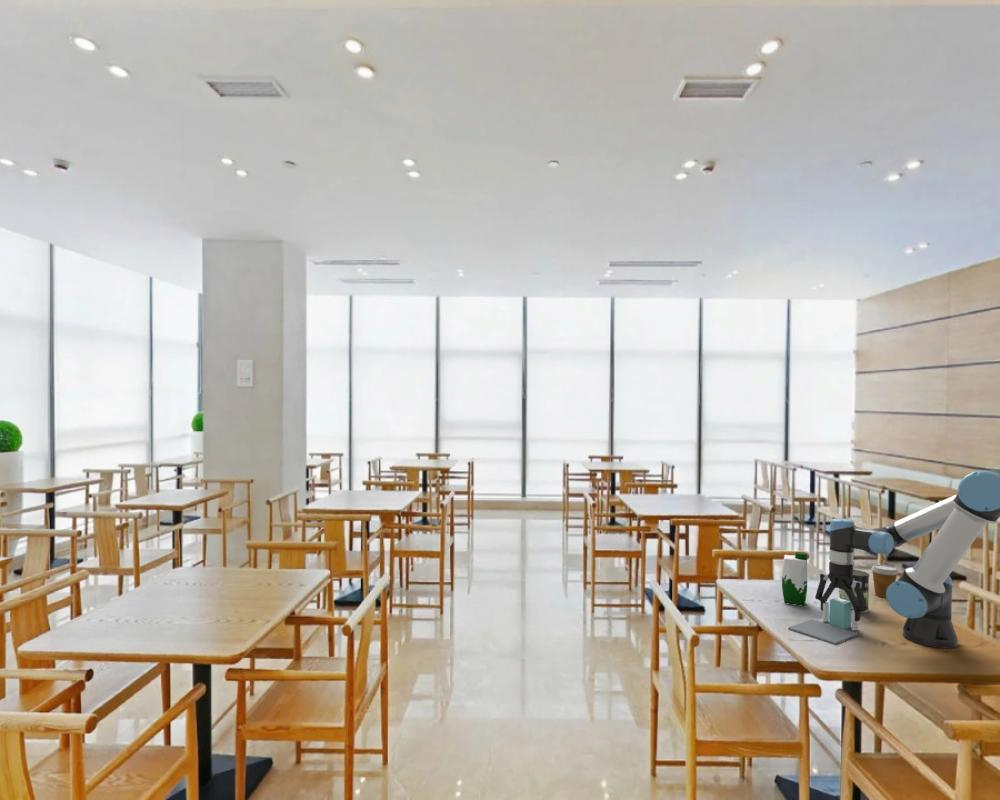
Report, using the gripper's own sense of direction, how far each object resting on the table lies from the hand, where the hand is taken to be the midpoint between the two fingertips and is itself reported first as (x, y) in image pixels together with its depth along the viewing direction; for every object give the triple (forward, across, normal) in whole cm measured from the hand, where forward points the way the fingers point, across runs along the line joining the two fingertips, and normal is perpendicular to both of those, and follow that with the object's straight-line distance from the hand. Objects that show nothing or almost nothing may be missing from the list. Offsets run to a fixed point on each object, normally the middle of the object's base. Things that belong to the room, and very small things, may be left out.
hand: (839, 625), depth 214 cm
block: (0, 0, 0) cm, 0 cm away
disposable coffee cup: (0, +8, -54) cm, 55 cm away
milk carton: (0, +23, -11) cm, 25 cm away
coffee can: (0, +7, -25) cm, 26 cm away
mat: (0, 0, +12) cm, 12 cm away
